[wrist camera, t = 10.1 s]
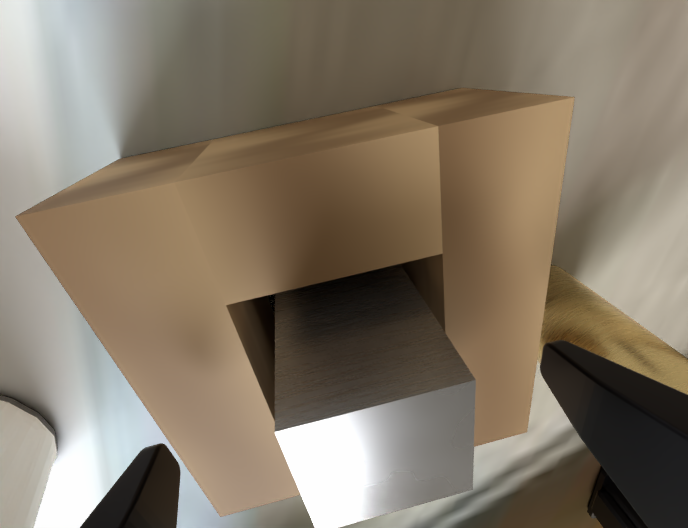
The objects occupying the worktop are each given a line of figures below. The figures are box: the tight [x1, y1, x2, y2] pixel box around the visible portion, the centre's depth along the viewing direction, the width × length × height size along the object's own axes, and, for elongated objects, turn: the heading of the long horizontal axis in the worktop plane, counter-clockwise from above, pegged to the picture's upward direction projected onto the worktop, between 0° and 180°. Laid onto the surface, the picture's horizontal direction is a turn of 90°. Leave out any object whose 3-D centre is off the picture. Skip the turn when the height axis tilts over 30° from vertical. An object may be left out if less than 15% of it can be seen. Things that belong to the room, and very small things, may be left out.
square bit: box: [275, 264, 476, 528], centre depth 10 cm, size 4×4×8 cm
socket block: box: [15, 88, 575, 517], centre depth 12 cm, size 11×11×5 cm
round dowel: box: [537, 265, 688, 394], centre depth 13 cm, size 4×4×8 cm
